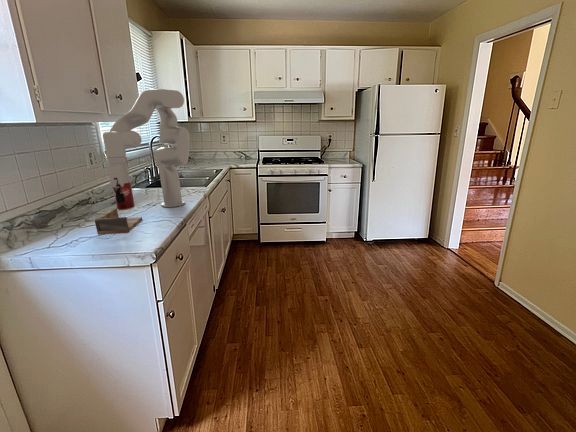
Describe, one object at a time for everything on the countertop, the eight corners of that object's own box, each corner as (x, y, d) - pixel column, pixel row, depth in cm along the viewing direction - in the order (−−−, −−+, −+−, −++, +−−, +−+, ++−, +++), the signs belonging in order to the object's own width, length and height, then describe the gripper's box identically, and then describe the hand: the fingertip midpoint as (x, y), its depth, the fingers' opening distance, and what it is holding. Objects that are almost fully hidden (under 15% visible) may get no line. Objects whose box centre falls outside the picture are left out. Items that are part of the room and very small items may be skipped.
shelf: (116, 221, 145) (113, 208, 143) (142, 219, 146) (140, 206, 144) (97, 234, 128) (94, 219, 126) (127, 232, 129) (125, 218, 127)
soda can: (130, 210, 136) (125, 183, 132) (113, 210, 136) (108, 184, 132) (137, 206, 143) (133, 180, 139) (122, 206, 143) (117, 181, 139)
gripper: (116, 159, 141) (123, 196, 146) (98, 163, 124) (107, 205, 130) (133, 158, 142) (140, 195, 147) (118, 162, 125) (125, 204, 130)
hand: (124, 200), depth 138 cm, fingers closed on soda can, 7 cm apart
